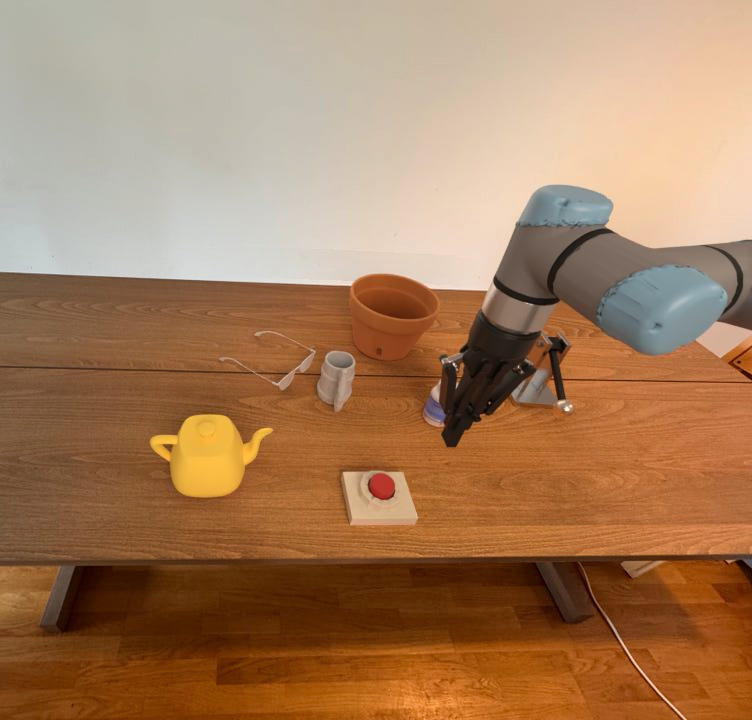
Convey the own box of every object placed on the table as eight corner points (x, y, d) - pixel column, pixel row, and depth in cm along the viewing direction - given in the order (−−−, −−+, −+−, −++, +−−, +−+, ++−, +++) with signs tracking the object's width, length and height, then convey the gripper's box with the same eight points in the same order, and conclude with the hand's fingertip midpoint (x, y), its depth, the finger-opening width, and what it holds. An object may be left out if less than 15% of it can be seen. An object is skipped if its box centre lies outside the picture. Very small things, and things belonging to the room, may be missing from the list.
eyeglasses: (277, 397, 91) (278, 383, 89) (216, 361, 99) (215, 348, 97) (315, 362, 101) (317, 349, 99) (256, 333, 109) (257, 320, 106)
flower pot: (437, 346, 109) (457, 296, 100) (396, 383, 97) (413, 331, 88) (369, 312, 120) (381, 265, 111) (324, 342, 108) (333, 292, 98)
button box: (399, 478, 77) (405, 465, 74) (414, 525, 70) (421, 512, 67) (340, 478, 76) (344, 465, 73) (349, 525, 69) (354, 512, 66)
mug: (348, 383, 96) (358, 341, 88) (354, 421, 87) (366, 378, 79) (315, 381, 96) (322, 339, 88) (317, 419, 87) (325, 376, 79)
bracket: (558, 409, 93) (594, 357, 84) (513, 405, 93) (544, 354, 84) (534, 373, 103) (565, 323, 93) (494, 370, 103) (520, 320, 93)
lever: (568, 419, 86) (580, 415, 82) (550, 418, 86) (562, 413, 82) (553, 343, 92) (564, 336, 89) (536, 341, 92) (547, 334, 89)
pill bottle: (444, 431, 86) (460, 397, 80) (418, 420, 88) (432, 386, 82) (450, 415, 90) (466, 382, 84) (425, 405, 92) (439, 371, 86)
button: (389, 478, 72) (391, 472, 71) (395, 499, 69) (398, 493, 68) (366, 478, 72) (368, 472, 71) (371, 499, 69) (374, 493, 68)
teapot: (271, 505, 71) (276, 460, 63) (150, 509, 69) (140, 463, 61) (266, 443, 81) (270, 397, 73) (161, 445, 79) (153, 398, 72)
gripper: (545, 304, 55) (478, 423, 71) (449, 300, 55) (402, 422, 70) (578, 338, 50) (497, 460, 65) (471, 334, 49) (415, 459, 64)
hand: (448, 440), depth 67 cm, fingers closed
